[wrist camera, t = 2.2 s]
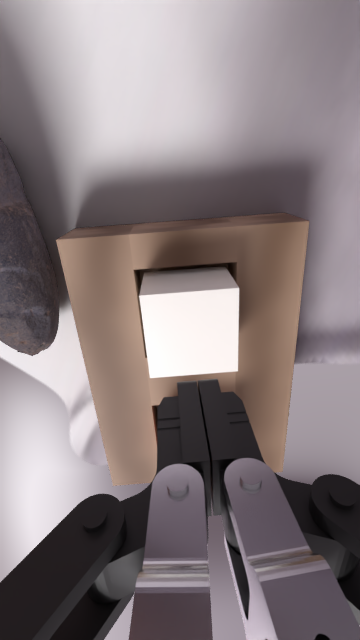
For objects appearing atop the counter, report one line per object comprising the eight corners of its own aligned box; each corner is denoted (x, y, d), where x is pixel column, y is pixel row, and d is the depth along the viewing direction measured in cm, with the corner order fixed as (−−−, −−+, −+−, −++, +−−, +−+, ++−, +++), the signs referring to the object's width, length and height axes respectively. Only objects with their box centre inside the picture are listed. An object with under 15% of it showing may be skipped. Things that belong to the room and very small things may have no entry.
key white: (225, 266, 19) (239, 287, 16) (225, 337, 21) (237, 371, 18) (144, 272, 19) (139, 295, 16) (152, 343, 21) (149, 378, 18)
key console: (284, 212, 21) (309, 220, 17) (268, 435, 29) (282, 471, 26) (75, 228, 21) (55, 239, 17) (119, 447, 29) (113, 485, 26)
